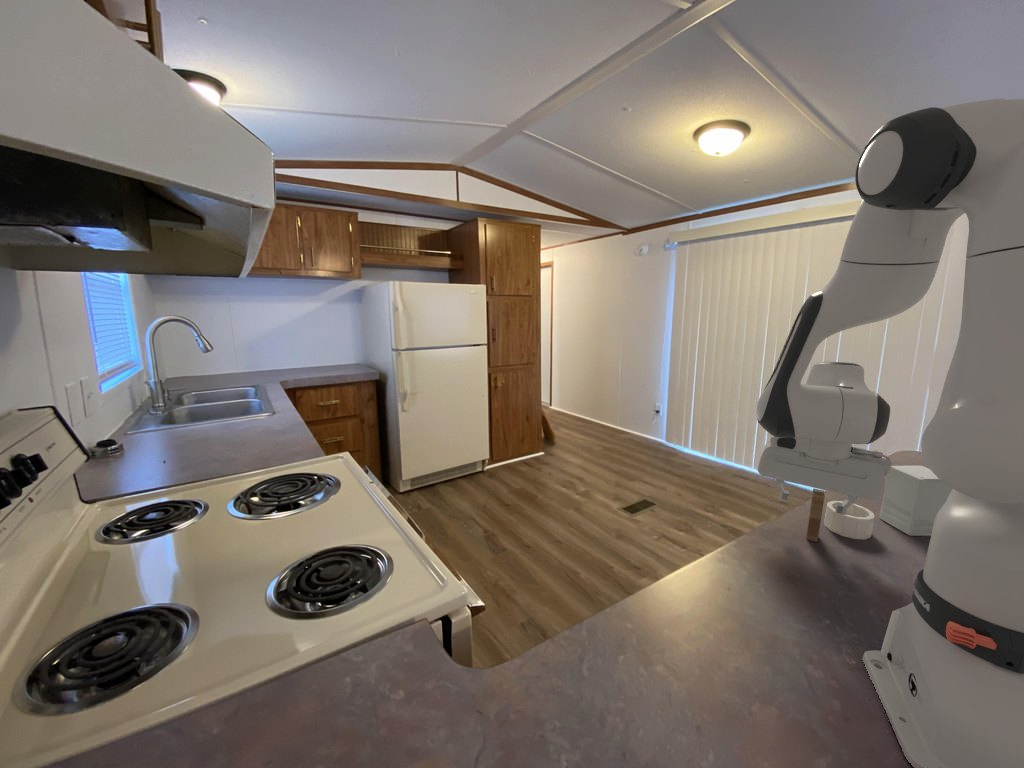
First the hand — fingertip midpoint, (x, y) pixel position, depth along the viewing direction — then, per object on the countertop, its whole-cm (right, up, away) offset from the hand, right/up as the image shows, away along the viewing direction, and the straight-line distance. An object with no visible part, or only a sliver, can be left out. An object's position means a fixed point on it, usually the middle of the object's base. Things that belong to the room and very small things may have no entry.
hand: (810, 505), depth 83 cm
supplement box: (+24, -6, +4) cm, 25 cm away
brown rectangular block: (+1, -7, 0) cm, 7 cm away
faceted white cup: (+10, -6, +3) cm, 12 cm away
